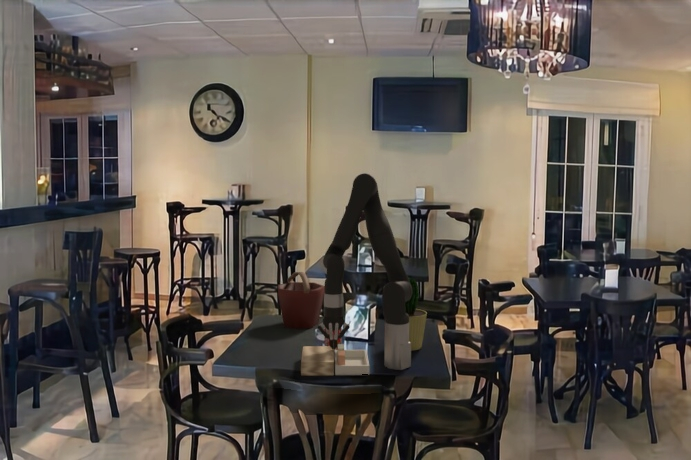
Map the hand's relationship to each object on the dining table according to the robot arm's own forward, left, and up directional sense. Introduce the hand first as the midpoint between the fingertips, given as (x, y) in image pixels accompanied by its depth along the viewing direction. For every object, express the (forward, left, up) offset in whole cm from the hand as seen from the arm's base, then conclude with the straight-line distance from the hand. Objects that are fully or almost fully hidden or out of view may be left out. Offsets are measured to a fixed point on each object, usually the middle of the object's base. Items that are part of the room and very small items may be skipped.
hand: (333, 348), depth 247 cm
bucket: (+51, -33, -6) cm, 61 cm away
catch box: (-8, -1, -6) cm, 10 cm away
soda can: (+12, -13, -6) cm, 19 cm away
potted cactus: (-9, -37, -6) cm, 39 cm away
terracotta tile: (-7, +5, -2) cm, 9 cm away
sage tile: (-1, -1, -2) cm, 3 cm away
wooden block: (+1, +7, -6) cm, 9 cm away
